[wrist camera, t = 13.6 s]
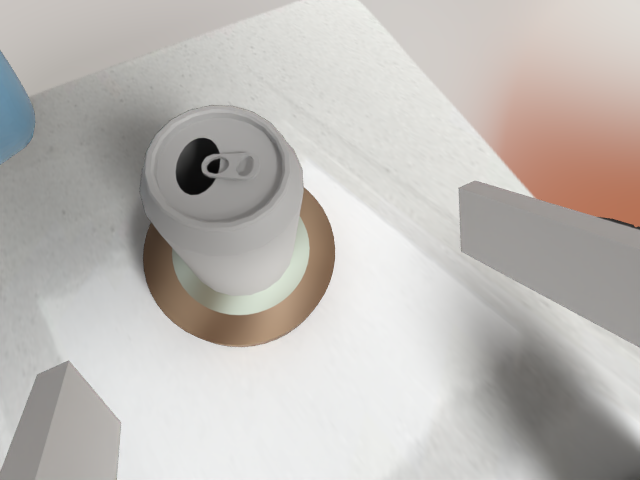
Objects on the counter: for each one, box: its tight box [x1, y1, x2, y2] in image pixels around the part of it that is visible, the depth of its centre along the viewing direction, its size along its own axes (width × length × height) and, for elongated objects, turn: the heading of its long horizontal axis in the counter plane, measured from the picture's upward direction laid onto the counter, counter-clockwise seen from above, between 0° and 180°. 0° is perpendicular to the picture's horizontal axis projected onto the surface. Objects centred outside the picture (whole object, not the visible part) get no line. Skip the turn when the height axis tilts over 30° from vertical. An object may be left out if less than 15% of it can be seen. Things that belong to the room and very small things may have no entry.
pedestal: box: [143, 187, 335, 347], centre depth 28 cm, size 14×14×3 cm
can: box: [140, 105, 304, 296], centre depth 21 cm, size 8×8×12 cm
